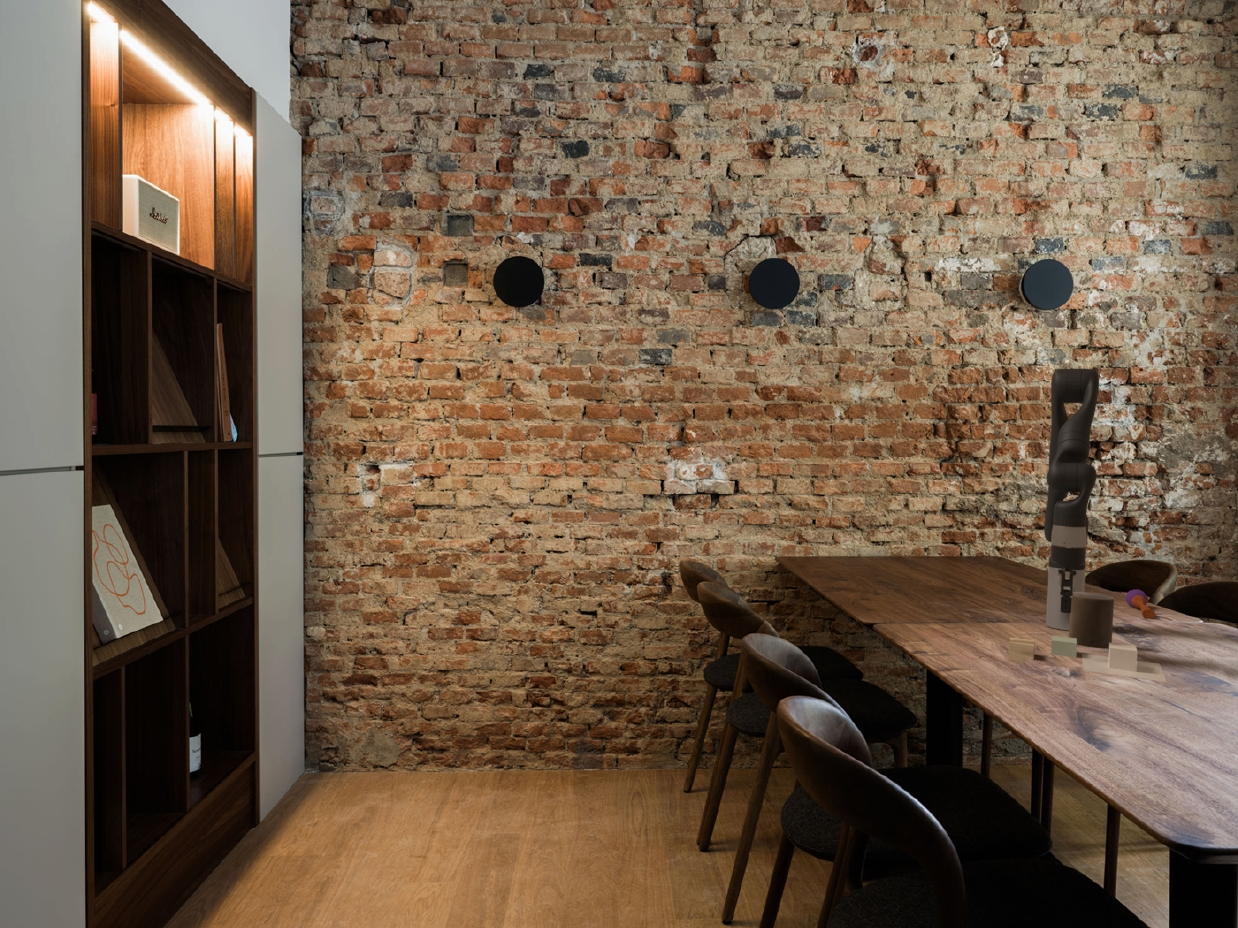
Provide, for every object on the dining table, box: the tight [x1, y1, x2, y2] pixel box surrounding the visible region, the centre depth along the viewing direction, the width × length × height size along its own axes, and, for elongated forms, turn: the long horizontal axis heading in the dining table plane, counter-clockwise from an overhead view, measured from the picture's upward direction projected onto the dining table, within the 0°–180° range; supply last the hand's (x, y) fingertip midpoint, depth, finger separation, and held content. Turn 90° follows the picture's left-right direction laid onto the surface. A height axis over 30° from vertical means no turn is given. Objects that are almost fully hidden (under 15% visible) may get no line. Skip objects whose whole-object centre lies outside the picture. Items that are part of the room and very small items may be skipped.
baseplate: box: [1081, 653, 1168, 683], centre depth 190 cm, size 16×16×1 cm
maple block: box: [1007, 637, 1036, 664], centre depth 198 cm, size 5×5×5 cm
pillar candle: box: [1068, 590, 1115, 649], centre depth 210 cm, size 10×10×15 cm
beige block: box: [1107, 642, 1139, 672], centre depth 189 cm, size 5×5×5 cm
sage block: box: [1050, 635, 1078, 658], centre depth 201 cm, size 5×5×5 cm
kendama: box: [1125, 589, 1156, 620], centre depth 253 cm, size 6×6×20 cm
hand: (1065, 609), depth 200 cm, fingers open, 8 cm apart
